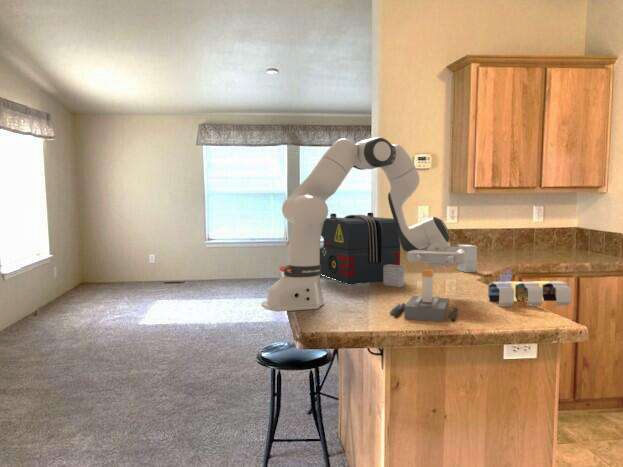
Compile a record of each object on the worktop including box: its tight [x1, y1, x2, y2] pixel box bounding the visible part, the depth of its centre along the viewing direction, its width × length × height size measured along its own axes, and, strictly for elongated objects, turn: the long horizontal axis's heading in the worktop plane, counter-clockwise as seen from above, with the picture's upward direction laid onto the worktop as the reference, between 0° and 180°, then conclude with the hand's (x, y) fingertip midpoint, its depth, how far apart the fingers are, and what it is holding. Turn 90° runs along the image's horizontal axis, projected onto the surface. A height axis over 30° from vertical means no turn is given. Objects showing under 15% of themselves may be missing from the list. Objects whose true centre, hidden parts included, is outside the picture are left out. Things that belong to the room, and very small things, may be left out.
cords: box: [389, 302, 459, 321], centre depth 159 cm, size 16×21×1 cm
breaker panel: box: [403, 294, 450, 323], centre depth 159 cm, size 16×12×5 cm
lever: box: [421, 268, 435, 303], centre depth 158 cm, size 3×3×10 cm
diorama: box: [487, 269, 572, 307], centre depth 173 cm, size 25×10×13 cm, turn 91°
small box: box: [456, 244, 478, 273], centre depth 245 cm, size 8×6×13 cm
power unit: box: [320, 212, 401, 285], centre depth 228 cm, size 28×28×30 cm
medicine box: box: [382, 264, 405, 288], centre depth 208 cm, size 8×4×9 cm, turn 47°
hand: (433, 259), depth 169 cm, fingers open, 8 cm apart
